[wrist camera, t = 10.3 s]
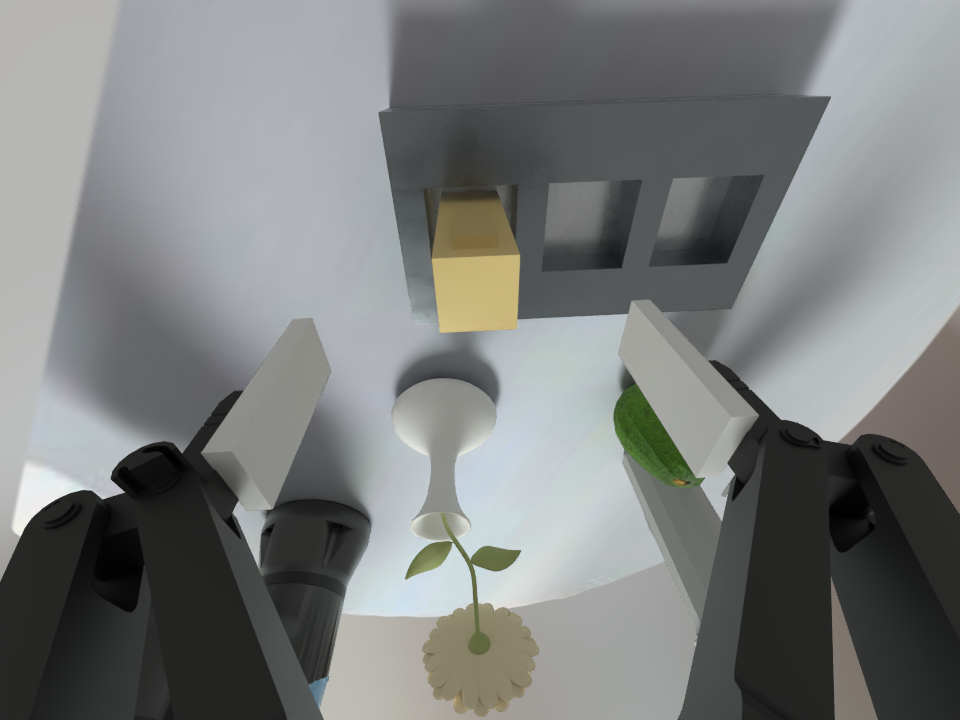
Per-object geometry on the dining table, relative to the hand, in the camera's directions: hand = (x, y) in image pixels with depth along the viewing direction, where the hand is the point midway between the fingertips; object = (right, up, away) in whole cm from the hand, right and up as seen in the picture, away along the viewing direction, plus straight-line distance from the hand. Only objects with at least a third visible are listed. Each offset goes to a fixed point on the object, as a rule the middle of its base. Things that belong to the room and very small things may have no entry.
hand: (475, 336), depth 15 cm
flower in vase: (-3, -6, +25) cm, 26 cm away
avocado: (+18, -5, +25) cm, 31 cm away
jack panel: (+8, +11, +12) cm, 18 cm away
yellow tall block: (-1, +10, +11) cm, 15 cm away
